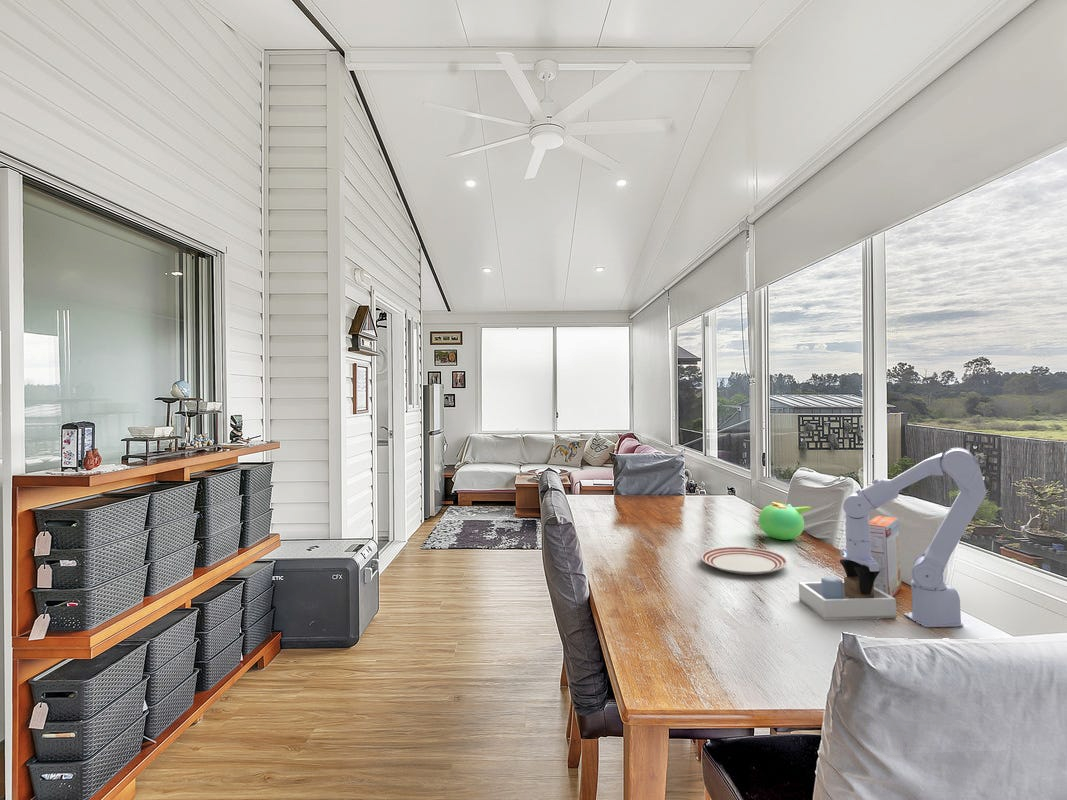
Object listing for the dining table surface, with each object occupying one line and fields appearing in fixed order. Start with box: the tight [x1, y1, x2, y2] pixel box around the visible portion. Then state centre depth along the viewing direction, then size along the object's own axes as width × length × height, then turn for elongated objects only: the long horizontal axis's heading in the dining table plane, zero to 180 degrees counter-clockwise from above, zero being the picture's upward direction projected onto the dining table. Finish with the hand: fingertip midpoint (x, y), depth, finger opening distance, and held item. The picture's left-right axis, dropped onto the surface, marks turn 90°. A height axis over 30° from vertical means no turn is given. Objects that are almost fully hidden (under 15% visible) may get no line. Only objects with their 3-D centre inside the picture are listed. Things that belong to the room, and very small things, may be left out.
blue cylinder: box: [820, 576, 844, 599], centre depth 146 cm, size 5×5×7 cm
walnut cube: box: [843, 576, 874, 599], centre depth 145 cm, size 5×5×5 cm
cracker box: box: [869, 515, 902, 598], centre depth 156 cm, size 14×6×21 cm, turn 135°
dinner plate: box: [700, 546, 788, 576], centre depth 185 cm, size 28×27×3 cm
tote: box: [798, 580, 897, 621], centre depth 146 cm, size 18×14×5 cm
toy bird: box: [758, 501, 812, 541], centre depth 218 cm, size 18×17×15 cm
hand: (859, 590), depth 145 cm, fingers closed on walnut cube, 5 cm apart
